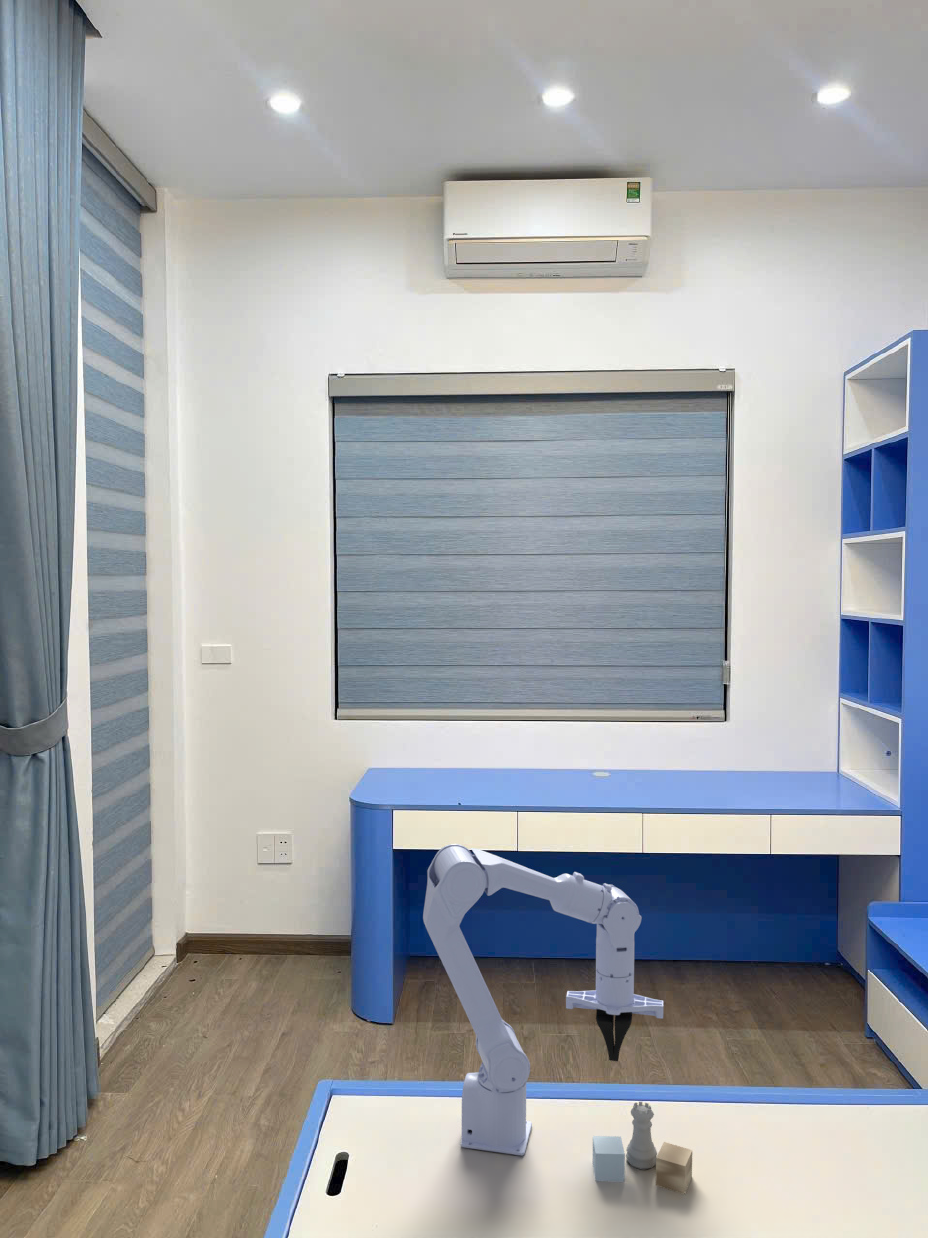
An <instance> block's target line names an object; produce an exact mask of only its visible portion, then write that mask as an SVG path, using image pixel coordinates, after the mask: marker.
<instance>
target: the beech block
mask: <svg viewBox="0 0 928 1238" xmlns="http://www.w3.org/2000/svg"><path fill="white" fill-rule="evenodd" d="M692 1178H693V1149H691V1148H690V1149H689V1148H687V1147H684V1146H681V1145H676V1144H673V1143H670V1142H666V1141H663V1143H662V1145H661V1147H660V1148H659V1152H657V1157H656V1164H655V1186H657V1187H659V1188H663V1189H666V1190H670V1191H672V1192H674V1193H675V1192H676V1193H679V1194H682V1195H686V1193H687V1190H688V1188H689V1186H690V1183H691V1181H692Z"/></svg>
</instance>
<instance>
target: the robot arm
mask: <svg viewBox="0 0 928 1238" xmlns="http://www.w3.org/2000/svg"><path fill="white" fill-rule="evenodd" d="M470 849H471V850H472V852H473V853H472V852H471V851H470ZM470 849H469V848H468V847H465V846H464V845H462V844H460V843H450V844H447V845H444V846H442V847H441V848H440V849H439V850H438V851H437V852H436V854H435V855H434V858H433V859H432V860H431V863H430V865H429V866H428V869H427V883H426V891H425V898H424V906H423V914H422V920H423V924H424V925H425V929H426V931H427V933H428V935H429V937H430V940H431V941H432V943H433V946H434V948H435V951H436V952H437V955H438V957H439V960H441V963H442V965H443V967H444V969H445V971H446V973H447V976H448V978H449V981H450V983H451V984H452V986H453V989H454V990H455V993H456V995H457V997H458V999H459V1001H460V1003H461V1006H462V1008H463V1011H465V1014H466V1016H467V1019H468V1021H469V1022H470V1025H471V1027H472V1030H473V1032H474V1034H475V1048H476V1051H477V1054H478V1055H479V1056H480V1058H481V1061H482V1062H481V1063H480V1066H479V1070H478V1071H477V1072H467V1073H466V1075H465V1077H464V1081H463V1085H462V1095H461V1140H460V1147H461V1148H466V1149H473V1150H479V1151H480V1150H481V1151H487V1152H494V1153H500V1154H501V1153H502V1154H507V1155H514V1156H515V1155H516V1156H524V1155H526V1150H527V1146H528V1142H529V1140H530V1139H529V1138H530V1134H531V1130H532V1128H533V1127H532V1126H533V1123H532V1121H530V1120H527V1081H528V1079H529V1077H530V1074H531V1063H530V1060H529V1058H528V1056H527V1054H526V1053H525V1052H524V1050H523V1048H522V1046H521V1045H520V1042H519V1040H518V1038H517V1036H516V1032H515V1030H514V1028H513V1027H512V1026H511V1025H510V1024H509V1023H507V1022H506V1021H505V1020H504V1019H503V1018H502V1016H501V1014H500V1012H499V1009H498V1007H497V1005H496V1003H495V1000H494V999H493V997H492V994H491V991H490V990H489V987H488V985H487V983H486V981H485V979H484V977H483V975H482V973H481V971H480V968H479V966H478V964H477V962H476V960H475V958H474V956H473V953H472V951H471V949H470V947H469V945H468V942H467V940H466V938H465V935H464V933H463V931H462V929H461V927H460V925H461V923H462V921H463V919H464V917H465V914H466V913H467V912H469V911H470V909H471V908H472V907H473V906H474V905H475V904H476V903H477V902H478V901H479V899H480V898H481V896H483V894H484V893H485V894H486V895H487V896H492V895H493V894H495V893H496V892H497V891H499V890H501V889H503V888H505V889H507V890H512V891H515V892H518V893H521V894H522V893H523V894H526V895H529V896H533V897H537V898H540V899H544V900H547V901H549V903H550V906H551V908H552V910H553V911H554V912H557V913H559V914H562V915H565V916H568V917H571V918H574V919H577V920H581V921H584V922H586V923H589V924H593V925H596V938H595V944H596V945H595V990H594V989H593V990H581V991H580V990H578V991H576V990H567V992H566V995H565V1008H566V1010H573V1009H574V1008H579V1009H588V1010H595V1011H596V1014H595V1020H596V1024H597V1026H598V1028H599V1030H600V1032H601V1033H602V1036H603V1039H604V1042H605V1045H606V1050H607V1054H608V1061H609V1062H610V1061H611V1062H612V1061H613V1062H619V1060H620V1058H619V1056H620V1051H621V1047H622V1044H623V1041H624V1039H625V1037H626V1035H627V1032H628V1030H629V1029H630V1028H631V1024H632V1022H633V1014H634V1015H635V1014H636V1015H645V1016H654V1017H655V1018H656V1019H664V1000H662V999H661V1000H660V999H656V998H655V999H654V998H651V997H648V996H644V995H640V994H635V993H634V992H635V932H637V930H638V929H639V927H640V925H641V923H642V915H640V911H639V907H638V905H637V904H636V902H635V901H633V900H632V899H631V898H630V897H629V895H627V894H626V893H625V892H624V891H623V890H622V889H620V888H618V887H616V886H615V885H613V884H608V883H606V882H605V883H602V884H598V883H596V882H593V881H589V880H587V879H585V876H584V875H583V874H582V873H579V872H577V871H574V872H573V873H572V874H569V873H562V874H560V875H558V876H557V877H552V876H549V875H547V874H544V873H542V872H539V871H536V870H534V869H531V868H528V867H526V866H524V865H521V864H519V863H516V862H513V861H511V860H509V859H505V858H503V857H500V856H498V855H496V854H493V853H490V852H487V851H484V850H481V849H480V848H479V849H478V848H474V847H473V848H472V847H471V848H470Z"/></svg>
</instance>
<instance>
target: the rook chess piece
mask: <svg viewBox="0 0 928 1238" xmlns="http://www.w3.org/2000/svg"><path fill="white" fill-rule="evenodd" d="M630 1115H631V1116H632V1117H633V1120H632V1122H631V1123H632V1127H633V1129H632V1134H631V1135H632V1137H631V1139H630V1140H629V1143H628V1144H627V1147H626V1154H625V1159H626V1160H627V1162H628V1163H629V1164H630V1165H631V1166H632V1167H633V1168H635V1169H638V1170H649V1169H650V1170H651V1169H652V1168H653V1167H655V1166H656V1157H657V1155H658V1152H657V1148H656V1146H655V1144H654V1142H653V1140H652V1139H653V1138H652V1132H651V1131H652V1129H651V1128H652V1126H653V1124H652V1119H653V1118H654V1115H655V1114H654V1111H653V1110H652V1106H651V1105H649V1103H648V1102H645V1103H644V1104H643V1101H638V1103H637V1102H634V1104H633V1105H632V1108H631V1110H630Z"/></svg>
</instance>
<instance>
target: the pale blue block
mask: <svg viewBox="0 0 928 1238" xmlns="http://www.w3.org/2000/svg"><path fill="white" fill-rule="evenodd" d="M625 1159H626V1154H625V1148H624V1144H623V1140H622V1136H619V1135H618V1136H616V1135H615V1136H613V1135H611V1136H610V1135H608V1136H607V1135H592V1169H593V1174H594V1175H593V1176H594V1180H595V1182H614V1183H615V1182H616V1183H617V1182H621V1183H623V1182H625V1172H626V1171H625V1168H626V1167H625V1165H626V1163H625V1161H626V1160H625Z"/></svg>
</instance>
